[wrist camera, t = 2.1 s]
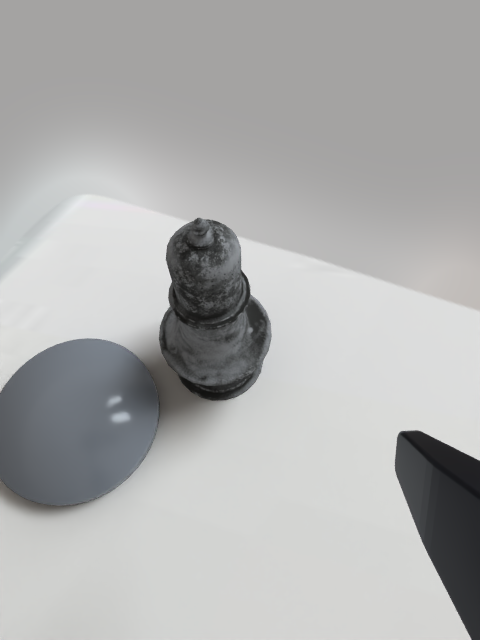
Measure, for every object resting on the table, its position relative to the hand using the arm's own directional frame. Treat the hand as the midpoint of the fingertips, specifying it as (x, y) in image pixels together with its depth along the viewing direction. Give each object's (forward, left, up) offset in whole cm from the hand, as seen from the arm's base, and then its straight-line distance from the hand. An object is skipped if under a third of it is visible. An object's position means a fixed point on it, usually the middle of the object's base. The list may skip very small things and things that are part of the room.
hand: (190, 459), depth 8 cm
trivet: (-5, +8, -13) cm, 16 cm away
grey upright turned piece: (+4, +7, -13) cm, 15 cm away
